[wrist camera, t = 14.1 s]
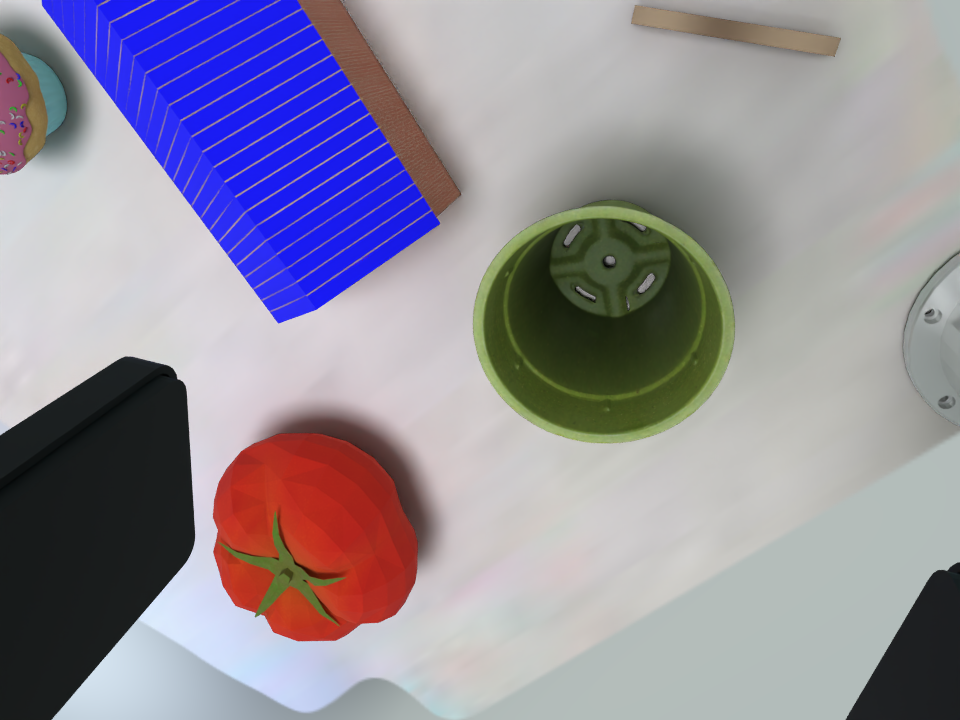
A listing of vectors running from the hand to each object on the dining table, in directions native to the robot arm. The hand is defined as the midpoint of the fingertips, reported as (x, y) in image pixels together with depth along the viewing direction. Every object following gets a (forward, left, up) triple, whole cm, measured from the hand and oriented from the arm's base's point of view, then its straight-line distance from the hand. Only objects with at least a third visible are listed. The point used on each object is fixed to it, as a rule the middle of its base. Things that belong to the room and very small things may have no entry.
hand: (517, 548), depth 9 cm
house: (+19, +1, -35) cm, 40 cm away
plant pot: (-1, +7, -34) cm, 35 cm away
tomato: (+15, +30, -35) cm, 48 cm away
